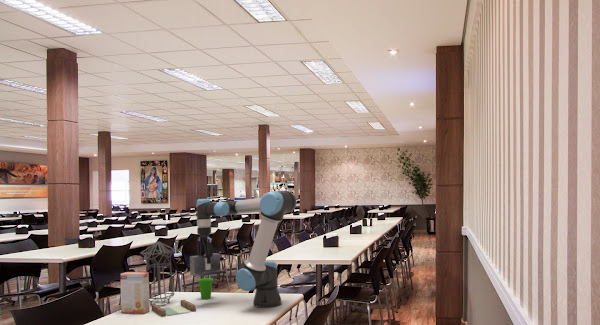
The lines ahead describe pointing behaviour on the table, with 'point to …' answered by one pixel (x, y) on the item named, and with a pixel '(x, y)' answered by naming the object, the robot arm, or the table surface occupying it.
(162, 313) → the bay walls
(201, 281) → the cup
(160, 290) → the geometric lantern
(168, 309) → the pad
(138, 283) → the cracker box
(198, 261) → the angle bracket
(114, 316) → the table surface
